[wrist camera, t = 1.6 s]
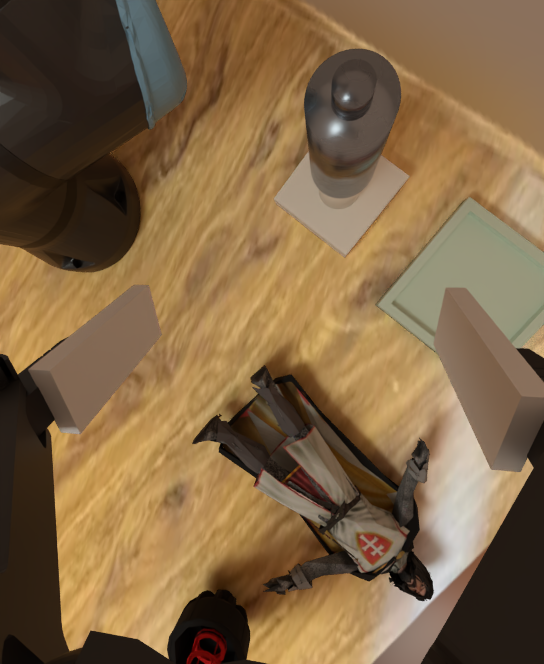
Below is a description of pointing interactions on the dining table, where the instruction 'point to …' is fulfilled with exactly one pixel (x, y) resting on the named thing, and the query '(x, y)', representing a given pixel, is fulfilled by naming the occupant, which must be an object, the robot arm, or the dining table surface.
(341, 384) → the dining table surface
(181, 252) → the dining table surface
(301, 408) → the figurine
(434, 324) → the tray
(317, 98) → the dark plastic bottle
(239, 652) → the filter
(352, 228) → the post stand
